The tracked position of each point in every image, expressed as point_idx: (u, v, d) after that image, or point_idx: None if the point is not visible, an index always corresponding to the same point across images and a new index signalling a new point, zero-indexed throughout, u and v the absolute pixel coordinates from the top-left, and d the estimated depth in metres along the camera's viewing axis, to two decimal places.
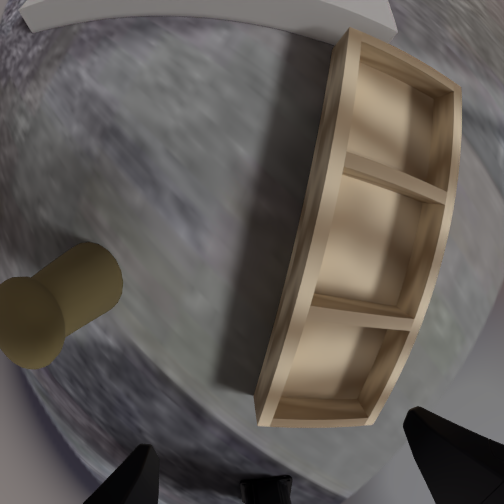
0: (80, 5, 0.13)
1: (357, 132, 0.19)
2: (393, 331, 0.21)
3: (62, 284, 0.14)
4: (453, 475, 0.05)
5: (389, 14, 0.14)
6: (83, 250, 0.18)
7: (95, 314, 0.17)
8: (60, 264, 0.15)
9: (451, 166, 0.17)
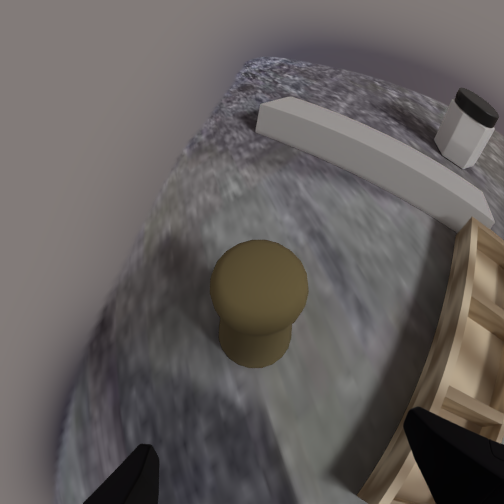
0: (310, 135, 0.33)
1: None
2: (484, 435, 0.15)
3: None
4: (453, 475, 0.05)
5: (489, 211, 0.27)
6: None
7: (276, 348, 0.19)
8: None
9: None
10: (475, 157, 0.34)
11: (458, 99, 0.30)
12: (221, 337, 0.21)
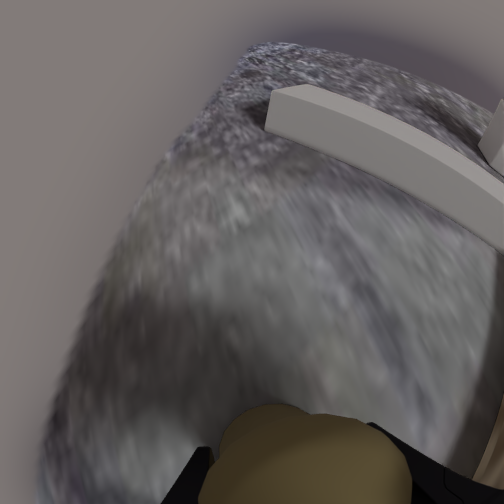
0: (344, 136, 0.23)
1: None
2: None
3: None
4: None
5: None
6: None
7: None
8: None
9: None
10: None
11: None
12: None
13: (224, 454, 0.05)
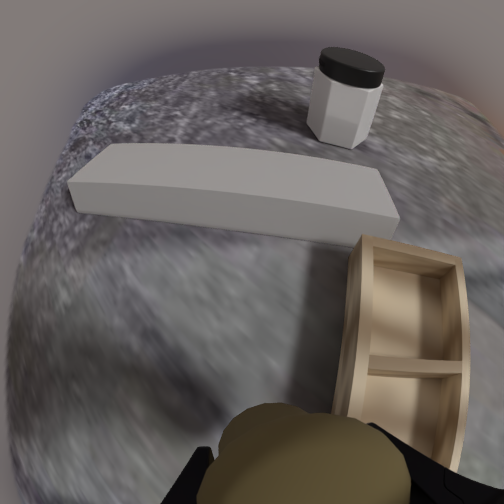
0: (125, 199, 0.26)
1: (376, 334, 0.21)
2: None
3: None
4: None
5: (390, 202, 0.25)
6: None
7: None
8: None
9: (462, 336, 0.18)
10: (365, 128, 0.33)
11: (322, 65, 0.27)
12: None
13: (222, 453, 0.05)
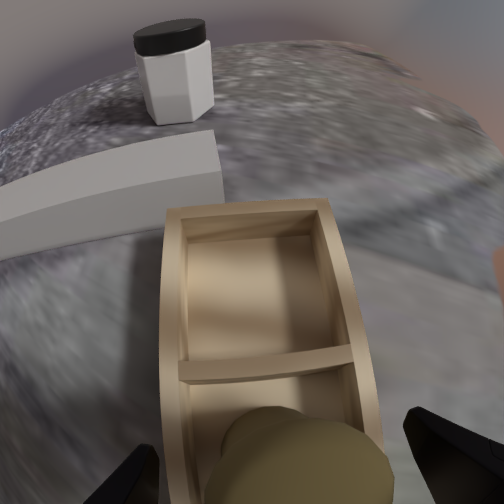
0: None
1: (215, 328, 0.17)
2: None
3: None
4: (453, 475, 0.05)
5: (213, 157, 0.22)
6: (306, 417, 0.13)
7: None
8: None
9: (344, 307, 0.15)
10: (205, 94, 0.30)
11: (135, 46, 0.23)
12: None
13: (228, 452, 0.06)
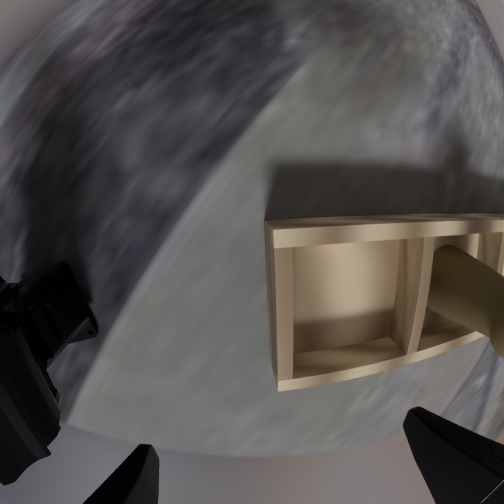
0: None
1: None
2: (384, 344, 0.20)
3: None
4: (453, 475, 0.05)
5: None
6: None
7: (450, 311, 0.17)
8: None
9: None
10: None
11: None
12: (457, 254, 0.18)
13: None
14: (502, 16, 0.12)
